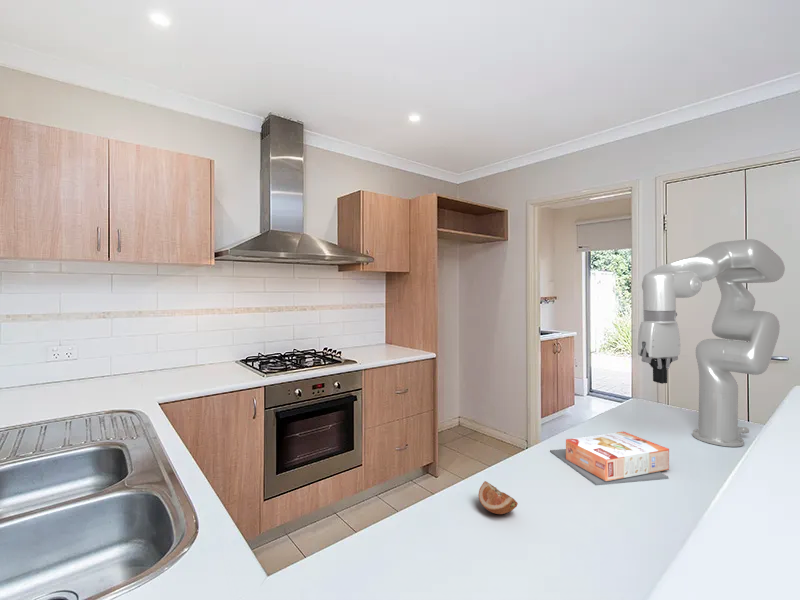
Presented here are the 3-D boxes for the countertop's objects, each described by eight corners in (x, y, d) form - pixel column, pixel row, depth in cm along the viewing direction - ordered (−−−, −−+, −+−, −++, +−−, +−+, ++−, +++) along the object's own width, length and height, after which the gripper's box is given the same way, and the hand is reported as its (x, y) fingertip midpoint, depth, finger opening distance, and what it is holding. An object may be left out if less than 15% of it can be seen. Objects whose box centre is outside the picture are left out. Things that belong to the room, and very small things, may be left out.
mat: (611, 447, 117) (611, 445, 117) (668, 478, 97) (668, 476, 97) (550, 451, 114) (550, 450, 114) (595, 485, 94) (595, 483, 94)
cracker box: (670, 447, 100) (606, 458, 94) (670, 470, 101) (606, 483, 94) (623, 429, 114) (564, 438, 107) (623, 450, 114) (564, 460, 107)
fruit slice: (524, 517, 80) (524, 493, 80) (499, 527, 77) (499, 502, 77) (495, 499, 88) (495, 477, 88) (471, 507, 84) (472, 484, 84)
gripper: (670, 314, 114) (671, 377, 115) (625, 317, 112) (626, 381, 112) (694, 316, 107) (695, 383, 108) (646, 319, 104) (647, 387, 105)
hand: (660, 382), depth 110 cm, fingers closed
